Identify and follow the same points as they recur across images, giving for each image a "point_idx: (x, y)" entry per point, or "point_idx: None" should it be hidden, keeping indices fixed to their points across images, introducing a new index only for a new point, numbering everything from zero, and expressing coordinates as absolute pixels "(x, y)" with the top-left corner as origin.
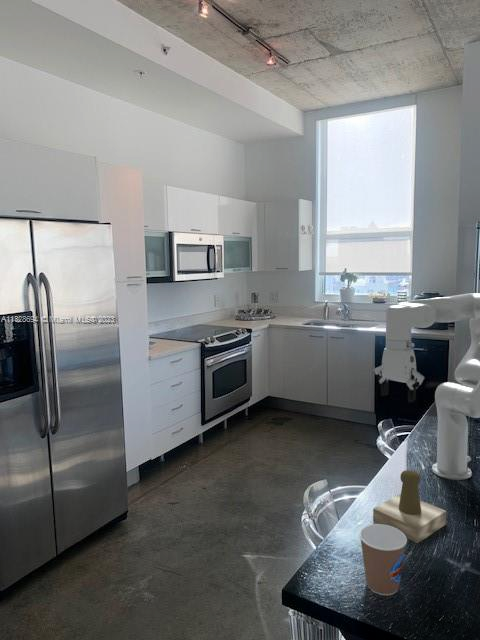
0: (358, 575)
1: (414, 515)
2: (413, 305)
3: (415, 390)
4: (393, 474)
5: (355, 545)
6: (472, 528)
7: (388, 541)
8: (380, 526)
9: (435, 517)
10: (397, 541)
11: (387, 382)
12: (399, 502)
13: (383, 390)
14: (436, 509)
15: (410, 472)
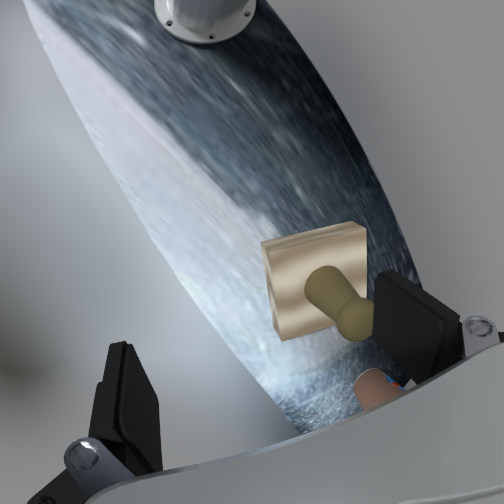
0: (342, 394)
1: None
2: None
3: (458, 330)
4: (124, 139)
5: (303, 376)
6: (381, 191)
7: (384, 395)
8: None
9: (366, 264)
10: (397, 392)
11: (105, 430)
12: (312, 303)
13: (157, 430)
14: (353, 240)
15: (367, 329)
